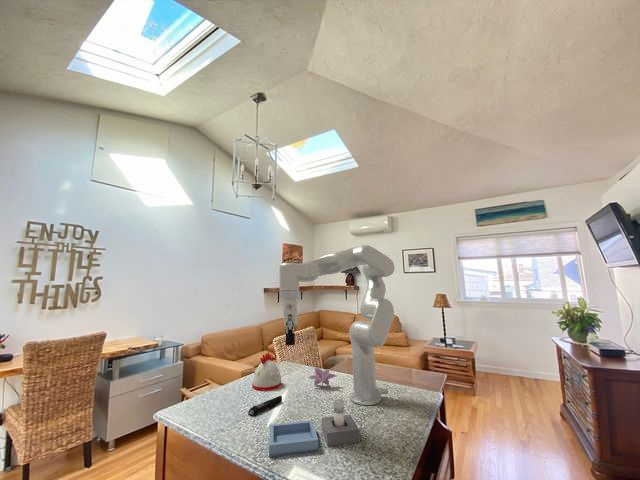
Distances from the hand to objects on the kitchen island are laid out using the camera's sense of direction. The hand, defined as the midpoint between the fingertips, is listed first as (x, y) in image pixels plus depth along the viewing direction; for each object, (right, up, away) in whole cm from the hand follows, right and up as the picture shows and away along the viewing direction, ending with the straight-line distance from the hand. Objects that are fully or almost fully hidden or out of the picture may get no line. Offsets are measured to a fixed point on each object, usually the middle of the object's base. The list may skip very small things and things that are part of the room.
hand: (290, 342), depth 102 cm
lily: (+12, -32, +26) cm, 43 cm away
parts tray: (+3, -24, -18) cm, 30 cm away
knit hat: (-15, -33, +31) cm, 47 cm away
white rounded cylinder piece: (+17, -24, -15) cm, 33 cm away
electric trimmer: (-10, -29, +5) cm, 31 cm away
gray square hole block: (+17, -24, -15) cm, 33 cm away
